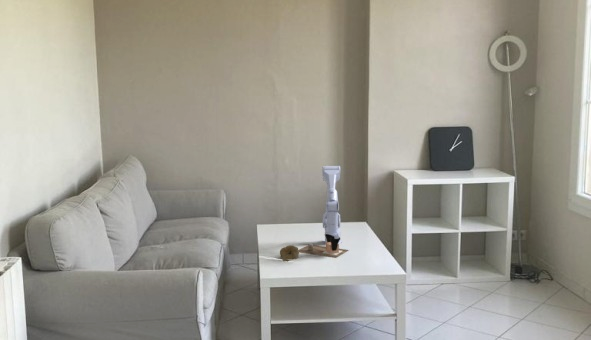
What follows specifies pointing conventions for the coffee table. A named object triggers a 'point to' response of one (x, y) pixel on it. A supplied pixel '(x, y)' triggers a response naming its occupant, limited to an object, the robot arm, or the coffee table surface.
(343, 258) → the coffee table surface
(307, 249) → the post board
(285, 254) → the fossil
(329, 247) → the salmon pink cube
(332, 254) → the mat
